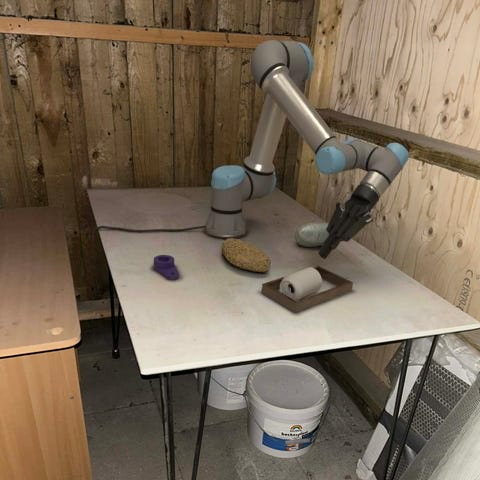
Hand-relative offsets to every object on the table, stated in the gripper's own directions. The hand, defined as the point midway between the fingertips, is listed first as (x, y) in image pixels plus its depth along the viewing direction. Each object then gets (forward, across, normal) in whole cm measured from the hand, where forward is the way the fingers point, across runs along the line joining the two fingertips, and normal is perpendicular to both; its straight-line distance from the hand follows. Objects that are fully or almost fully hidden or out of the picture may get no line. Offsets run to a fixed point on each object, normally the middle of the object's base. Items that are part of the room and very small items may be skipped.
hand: (321, 256), depth 138 cm
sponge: (+13, +24, -2) cm, 28 cm away
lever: (+30, +33, +15) cm, 47 cm away
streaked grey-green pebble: (-10, +25, -25) cm, 37 cm away
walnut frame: (+10, 0, -4) cm, 11 cm away
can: (+6, 0, -4) cm, 7 cm away
